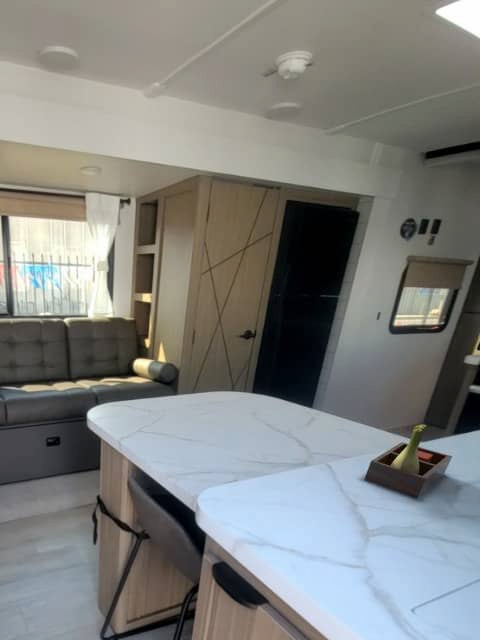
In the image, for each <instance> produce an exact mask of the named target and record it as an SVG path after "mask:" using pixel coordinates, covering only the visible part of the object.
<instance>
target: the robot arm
mask: <svg viewBox="0 0 480 640" xmlns="http://www.w3.org/2000/svg"><path fill="white" fill-rule="evenodd" d="M476 350H477V352H478V351H479V352H480V341H479V342H478V345H477V347H476Z"/></svg>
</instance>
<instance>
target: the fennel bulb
mask: <svg viewBox="0 0 480 640" xmlns="http://www.w3.org/2000/svg"><path fill="white" fill-rule="evenodd" d="M426 429H427V425H425V424H419V425H416V426H414V428H413V431H412V434H411V437H410V441H409V442H408V443H407V444H408V446H407V447H406V448H405V449H404V450H403V451H402V452H401V453H400V454H399V455H398V457H397V458H396V459H395V460H394V462H393V463H392V464H391V466H392V467H395V468H398V469H401V470H404V471H408V472H411V473H414V474H417V475H418V474H419V459H418V452H417V450H418V447H420V444H421V441H422V439H423V436H424V434H425V431H426Z"/></svg>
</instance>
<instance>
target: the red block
mask: <svg viewBox="0 0 480 640" xmlns="http://www.w3.org/2000/svg"><path fill="white" fill-rule="evenodd" d="M417 452H418V459H419V460H421V461H424V462H428V463H430V461H431V458H432V456H433V455H432V454H428V453H425V452H421V451H418V450H417Z"/></svg>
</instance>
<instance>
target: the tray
mask: <svg viewBox="0 0 480 640" xmlns="http://www.w3.org/2000/svg"><path fill="white" fill-rule="evenodd" d="M408 444H409V443H406V442H403V441H401V442H399V443H397V444H396V445H395V446H393V447H391V448H389V449H388V450H387V451H385V452H384V453H382V454H380V455H378V456H377V457H375V458H373V459H372V460H370V463H369V465H368V468H367V471H366V474H365V477H364V479H363V481H364V482H365V481H366V482H369V483H371V484H374V485H377V486H379V487H382V488H385V489H387V490H391V491H393V492H397V493H399V494H402V495H404V496H407V497H409V498H410V497H411V498H414V499H416V500H418V499H419V498H420V497H421V496H422V495H423V494H424V493H425V492H426V491H428V490H429V489H430V488H432V486H433V485H435V483H437V482H438V481H439V480H440V479H441V478H442V477H443V476H444V475H445V474H446V471H447V469H448V467H449V465H450V463H451V461H452V458H453V455H449V454H446V453H442V452H438V451H435V450H431V449H427V448H424V447H422V446H421V447H420V446H418V451H421V452H425V453H428V454H432V455H433V456H432V458H431V461H430V463H428V462H424V461H421V460H419V474H418V475H417V474H414V473H411V472H408V471H404V470H401V469H398V468H395V467H392V466H391V464H392V463H393V462H394V460H395V459H396V458H397V457H398V455H399V454H400V453H401V452H402V451H403V450H404V449H405V448H406V447H407V446H408Z"/></svg>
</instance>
